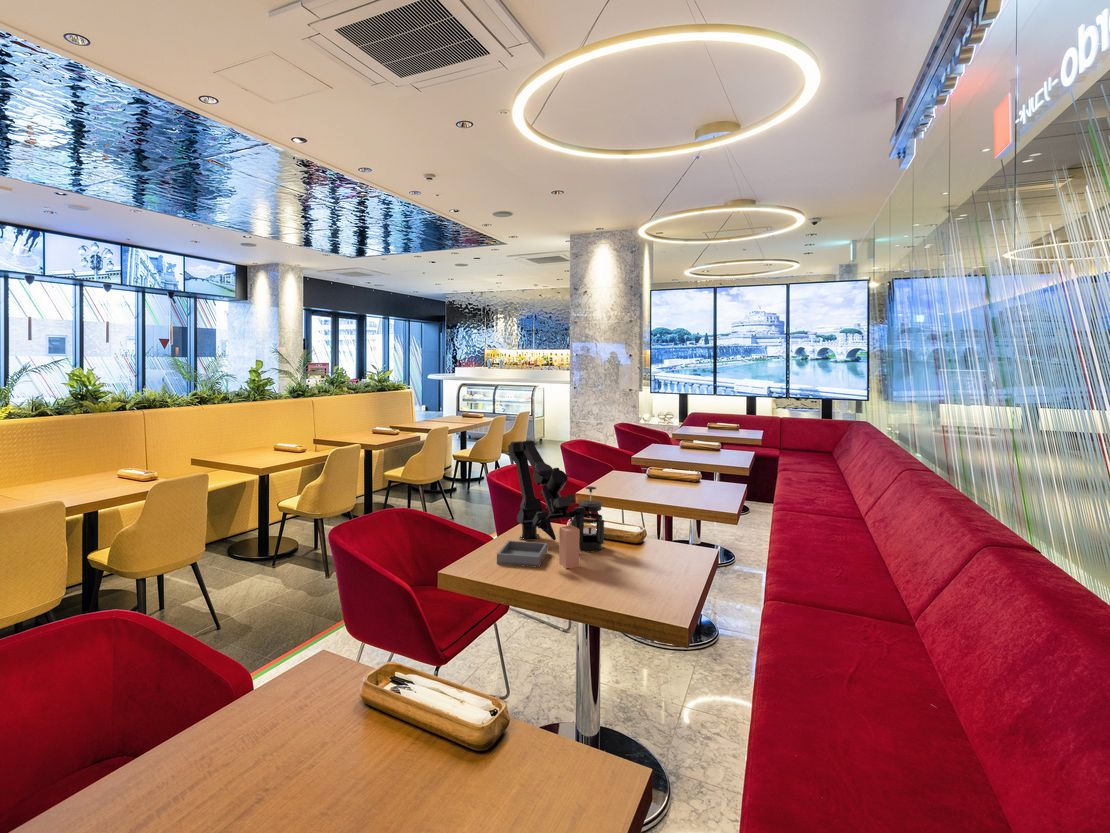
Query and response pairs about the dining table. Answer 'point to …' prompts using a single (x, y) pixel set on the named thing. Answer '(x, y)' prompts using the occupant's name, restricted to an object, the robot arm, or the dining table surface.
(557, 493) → the robot arm
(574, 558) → the terracotta block
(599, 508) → the french press
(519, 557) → the tray
